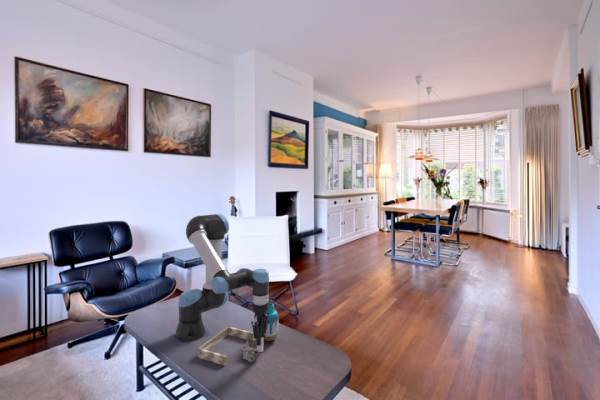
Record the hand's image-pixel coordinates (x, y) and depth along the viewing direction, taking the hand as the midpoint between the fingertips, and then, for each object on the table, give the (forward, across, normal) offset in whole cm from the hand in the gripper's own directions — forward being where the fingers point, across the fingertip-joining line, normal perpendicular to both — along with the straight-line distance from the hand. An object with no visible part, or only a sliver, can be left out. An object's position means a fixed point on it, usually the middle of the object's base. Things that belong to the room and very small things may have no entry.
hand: (260, 350), depth 143 cm
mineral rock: (+4, 0, +5) cm, 6 cm away
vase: (+4, +16, +4) cm, 17 cm away
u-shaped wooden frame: (+3, 0, +19) cm, 19 cm away
